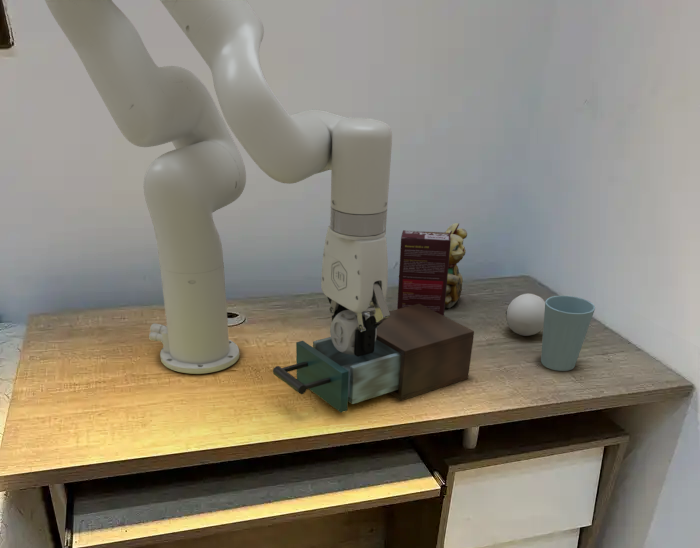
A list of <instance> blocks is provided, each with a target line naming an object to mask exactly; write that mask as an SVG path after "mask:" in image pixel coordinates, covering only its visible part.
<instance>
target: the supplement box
mask: <svg viewBox="0 0 700 548" xmlns="http://www.w3.org/2000/svg"><path fill="white" fill-rule="evenodd" d="M450 244H451V238H450V233H444V232H441V231H421V230H420V231H419V230H407V229H405V230H404V229H403V230H402V233H401V236H400V247H399V249H400V251H399V266H398V267H399V269H398V286H397V287H398V288H397V304H396V305H397V308H396V309H400V308H404V307H408V306H412V305H416V304H421V305H423V306H425V307H427V308H429V309H431V310H433V311H435V312H437V313H439V314H441V315H443V316H445V310H446V308H445V299H446V288H447V277H448V266H449V255H450Z"/></svg>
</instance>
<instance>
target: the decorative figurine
mask: <svg viewBox="0 0 700 548" xmlns="http://www.w3.org/2000/svg"><path fill="white" fill-rule="evenodd" d="M459 226H460V223H458V222H455V223H452V224H450V225H449V226H448V228H447V229H446V230H445V231H444V232H443V233H450V238H451V244H450V255H449V266H448V277H447V288H446V299H445V309H450V308H451V307H453V306H454V305H455V304H456V303H457V302H458V300H459V299H460V297H461V294H462V292H463V282H464V281H463V274H462V273H461V272H460V269H459V266H458V265H457V264H459V263H460V262H461V261H462V260H463V258H464V257H465V255H466V253H467V252H466V248H465V246H464V239H467V238H468V231H467V230H466V229H465V228H462V227H459Z"/></svg>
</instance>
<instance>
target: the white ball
mask: <svg viewBox="0 0 700 548" xmlns="http://www.w3.org/2000/svg"><path fill="white" fill-rule="evenodd" d="M501 303H503V304H506V305H508V306H507V309H506V310H505V320H506V322H507V325H508V327H509V328H510V330H511V331H512V332H513V333H515V334H517V335H519V336H523V337H528V336H535V335H536V334H538V333H539V332H541V331H543V327H544V313H545V300H544V299H543V297H541V296H539V295H537V294H534V293H523V294H520V295H518V296H516V297H515V298H513V299H512V300H511V301H510V303H507V302H503V301H501Z"/></svg>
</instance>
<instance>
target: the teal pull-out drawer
mask: <svg viewBox="0 0 700 548" xmlns="http://www.w3.org/2000/svg"><path fill="white" fill-rule="evenodd" d="M295 347H296V348H295V350H296V351H295V352H296V353H295V354H296V357H295V358H296V363H294V364H291V365H287V366H284V367H281V366H280V365H276V366H274V367H273V370H272V373H273V375H274V376H276V377H277V378H278V379H280V381H282V382H283V383H285V384H286V385H287V386H289V387H290V388H291V389H293V390H294V391H295V392H296V393H297V394H299V395H305V394H306V392H307V390H309V391H311V392H312V393H314V395H316V396H318V397H319V398H320V399H322V400H323V401H324V402H325V403H327V404H328V405H330V406H331V407H332V408H334V410H336V411H338V412H339V413H344V412H347V411H348V407H349V406H348V405H349V404H348V403H350V404H351V405H355V404H358V403H361V402H364V401H367V400H370V399H373V398H376V397H379V396H383V395H386V394H390V393H389V392H392V391H395V390H398V389H399V378H400V365H401V354H400V353H399V352H397V351H395V350H393V349H392V348H390V347H388V346H387V345H385V344H383V343H382V342H380V341H378V340H375V347H374V352H373V353H370V354H366V355H363V356H359V357H357V356H356V355H349V354H344V353H342V352H340V351H338V350H337V349H336V348H335V346H334V344H333V342H332V340H331V336H328V337H324V338H321V339H317V340H313V341H312V346H311V344H309V343H307V342H305V341H304V340H299V341H296V342H295ZM293 371H296V377H295V376H293V375H292V374H291V373H290V372H293Z"/></svg>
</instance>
